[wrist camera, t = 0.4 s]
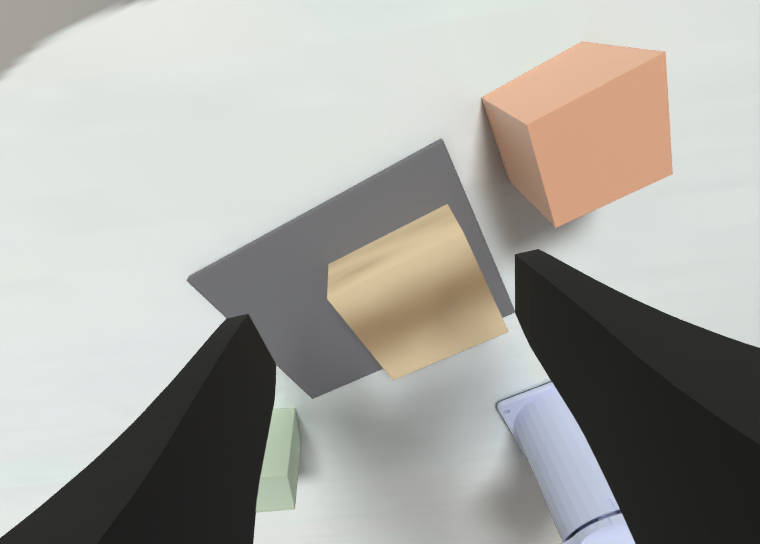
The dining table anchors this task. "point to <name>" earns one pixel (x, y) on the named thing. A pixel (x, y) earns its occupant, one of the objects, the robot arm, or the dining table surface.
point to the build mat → (325, 245)
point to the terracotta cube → (584, 128)
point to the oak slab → (415, 295)
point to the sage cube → (280, 463)
